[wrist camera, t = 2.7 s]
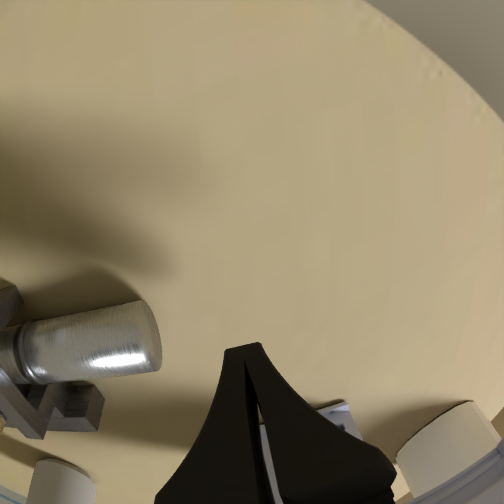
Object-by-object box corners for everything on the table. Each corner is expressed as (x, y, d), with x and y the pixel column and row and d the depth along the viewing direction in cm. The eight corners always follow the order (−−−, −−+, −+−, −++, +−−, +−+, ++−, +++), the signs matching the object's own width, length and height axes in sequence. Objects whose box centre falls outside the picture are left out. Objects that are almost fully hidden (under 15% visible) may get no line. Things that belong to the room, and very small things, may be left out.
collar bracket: (34, 279, 14) (-15, 341, 9) (105, 399, 18) (90, 465, 13) (-49, 304, 14) (-89, 349, 8) (15, 401, 18) (-6, 451, 12)
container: (490, 396, 29) (554, 489, 11) (436, 453, 34) (482, 540, 16) (439, 407, 26) (515, 536, 8) (376, 469, 31) (423, 581, 13)
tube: (142, 284, 15) (128, 328, 12) (165, 340, 17) (160, 388, 13) (-9, 317, 14) (-35, 351, 11) (18, 360, 16) (-1, 397, 13)
